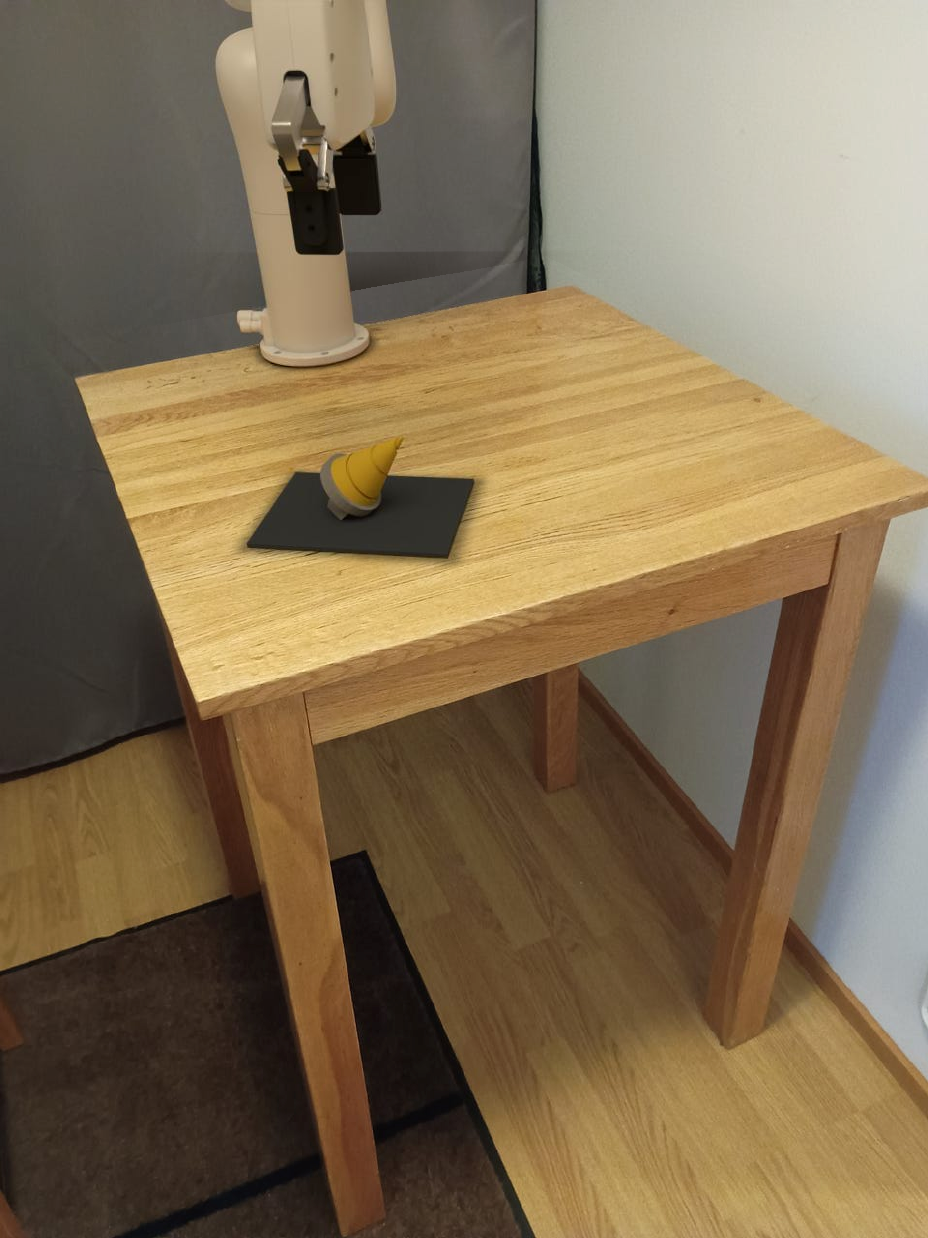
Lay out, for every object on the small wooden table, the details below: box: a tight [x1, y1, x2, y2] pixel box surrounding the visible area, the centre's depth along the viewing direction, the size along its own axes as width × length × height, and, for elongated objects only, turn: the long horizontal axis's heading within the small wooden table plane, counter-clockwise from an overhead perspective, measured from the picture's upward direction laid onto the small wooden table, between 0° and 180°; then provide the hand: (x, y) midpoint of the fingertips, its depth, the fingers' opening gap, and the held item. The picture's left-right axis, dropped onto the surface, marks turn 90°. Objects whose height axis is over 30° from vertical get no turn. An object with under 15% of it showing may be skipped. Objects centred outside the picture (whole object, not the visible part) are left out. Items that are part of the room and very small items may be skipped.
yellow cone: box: [319, 435, 405, 520], centre depth 73 cm, size 5×5×10 cm
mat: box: [246, 471, 475, 559], centre depth 76 cm, size 16×12×1 cm
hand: (341, 232), depth 65 cm, fingers open, 9 cm apart
